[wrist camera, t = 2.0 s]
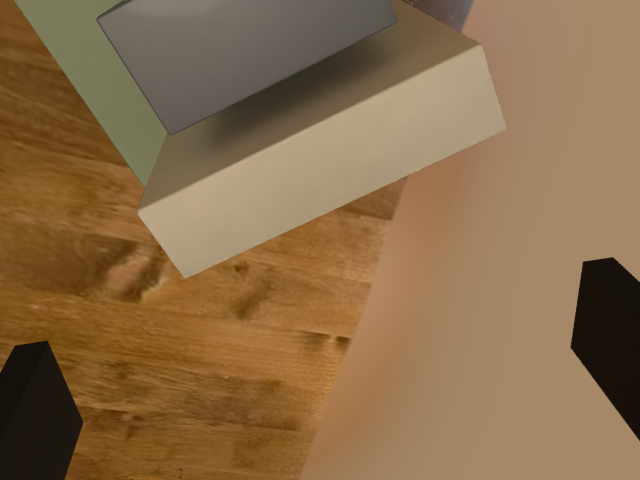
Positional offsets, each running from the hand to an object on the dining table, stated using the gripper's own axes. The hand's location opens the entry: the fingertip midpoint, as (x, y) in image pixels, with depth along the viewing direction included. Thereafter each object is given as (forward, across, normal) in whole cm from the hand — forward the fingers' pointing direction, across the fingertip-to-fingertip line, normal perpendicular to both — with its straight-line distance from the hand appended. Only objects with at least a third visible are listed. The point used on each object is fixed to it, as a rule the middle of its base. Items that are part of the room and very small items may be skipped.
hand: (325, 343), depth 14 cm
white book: (+15, 0, +3) cm, 15 cm away
